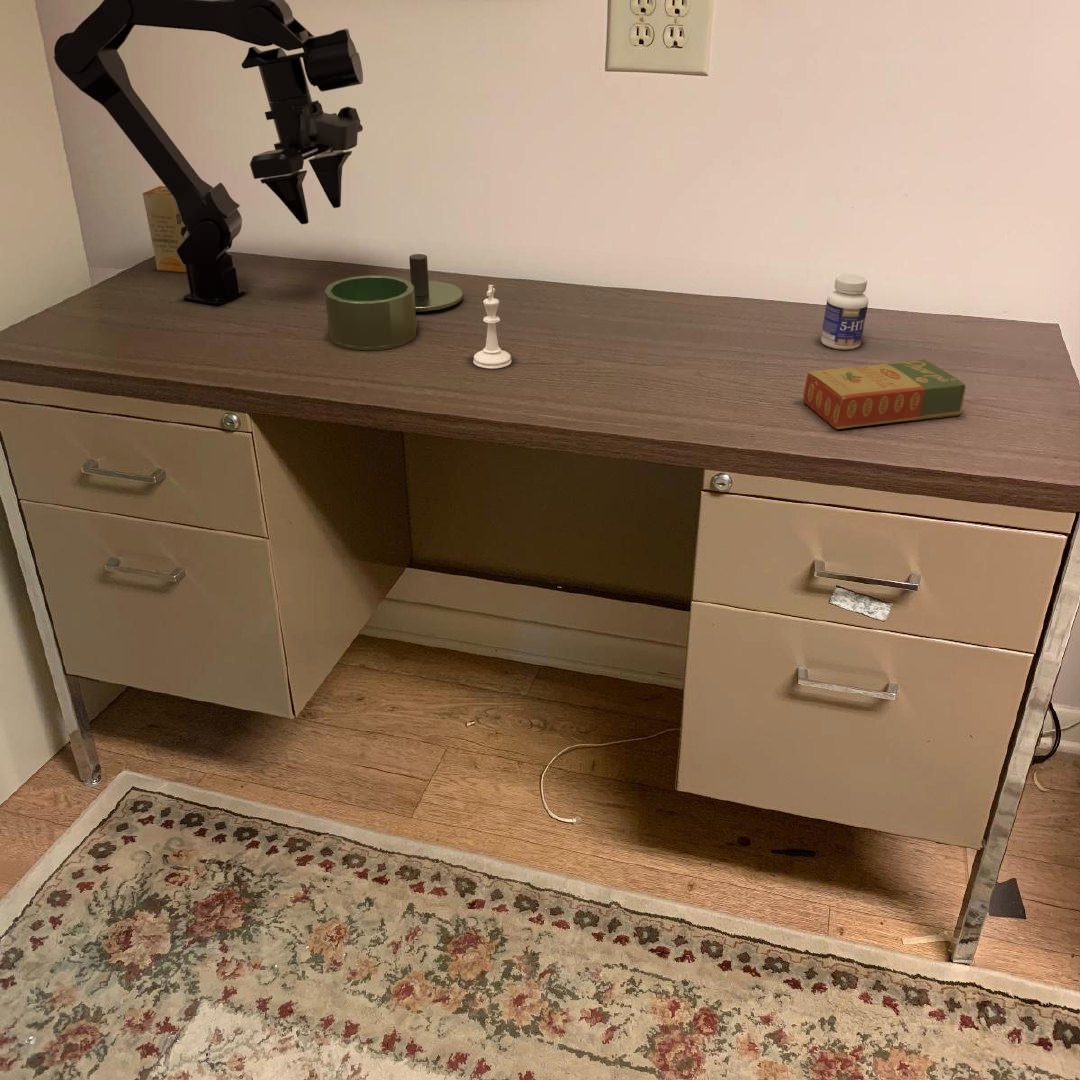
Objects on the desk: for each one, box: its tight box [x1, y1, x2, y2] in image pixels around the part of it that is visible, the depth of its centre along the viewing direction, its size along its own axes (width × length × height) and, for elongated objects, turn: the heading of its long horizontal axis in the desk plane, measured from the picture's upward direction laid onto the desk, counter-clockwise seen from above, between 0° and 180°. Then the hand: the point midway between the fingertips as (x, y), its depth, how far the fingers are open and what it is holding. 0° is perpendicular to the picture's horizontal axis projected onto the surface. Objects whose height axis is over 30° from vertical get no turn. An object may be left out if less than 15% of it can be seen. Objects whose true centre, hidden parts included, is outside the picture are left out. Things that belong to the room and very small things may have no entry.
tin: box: [324, 274, 417, 352], centre depth 139 cm, size 12×12×6 cm
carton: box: [802, 359, 966, 430], centre depth 119 cm, size 8×16×4 cm, turn 106°
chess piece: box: [472, 284, 513, 370], centre depth 130 cm, size 5×5×10 cm
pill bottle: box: [820, 273, 869, 351], centre depth 136 cm, size 5×5×9 cm
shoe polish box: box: [142, 185, 190, 273], centre depth 163 cm, size 5×5×12 cm
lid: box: [408, 253, 463, 312], centre depth 151 cm, size 12×12×7 cm
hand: (321, 215), depth 146 cm, fingers open, 9 cm apart
